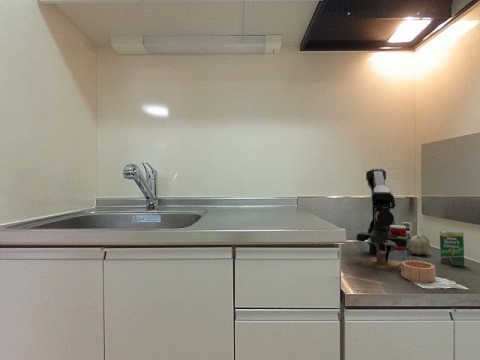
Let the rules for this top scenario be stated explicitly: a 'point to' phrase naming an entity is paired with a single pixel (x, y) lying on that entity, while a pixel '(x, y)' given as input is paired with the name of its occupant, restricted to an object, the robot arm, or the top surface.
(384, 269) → the mat
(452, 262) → the coffee box
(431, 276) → the bowl
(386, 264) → the lid
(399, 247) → the canned food
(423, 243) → the garlic bulb
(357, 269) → the top surface
